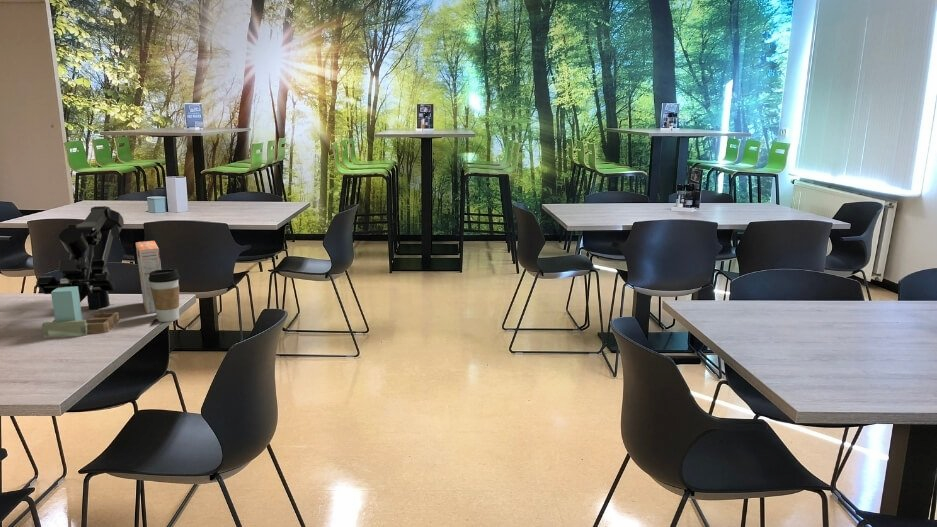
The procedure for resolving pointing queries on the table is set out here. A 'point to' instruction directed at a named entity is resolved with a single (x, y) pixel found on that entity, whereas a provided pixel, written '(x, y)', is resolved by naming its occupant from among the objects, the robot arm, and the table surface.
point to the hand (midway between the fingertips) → (71, 309)
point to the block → (66, 304)
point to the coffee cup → (165, 293)
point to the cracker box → (147, 270)
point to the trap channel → (81, 326)
